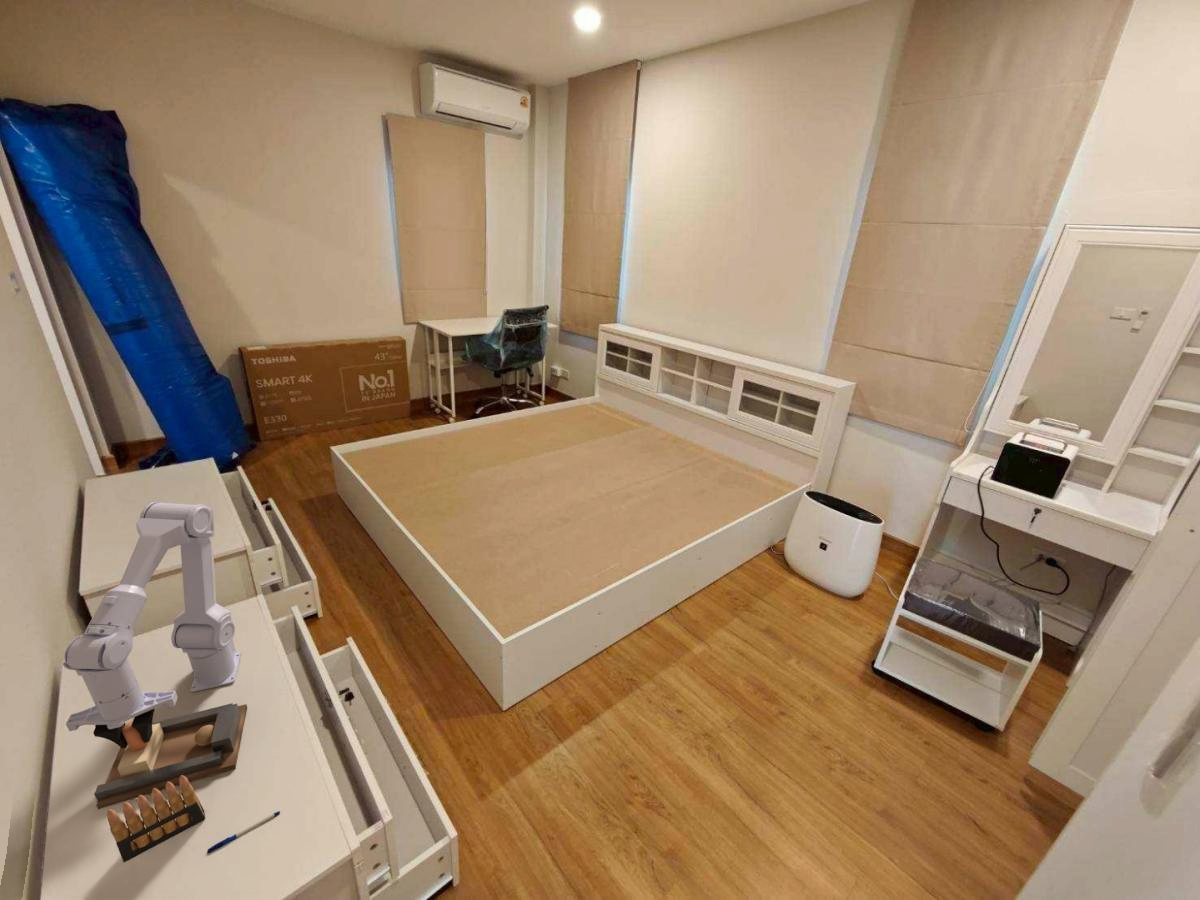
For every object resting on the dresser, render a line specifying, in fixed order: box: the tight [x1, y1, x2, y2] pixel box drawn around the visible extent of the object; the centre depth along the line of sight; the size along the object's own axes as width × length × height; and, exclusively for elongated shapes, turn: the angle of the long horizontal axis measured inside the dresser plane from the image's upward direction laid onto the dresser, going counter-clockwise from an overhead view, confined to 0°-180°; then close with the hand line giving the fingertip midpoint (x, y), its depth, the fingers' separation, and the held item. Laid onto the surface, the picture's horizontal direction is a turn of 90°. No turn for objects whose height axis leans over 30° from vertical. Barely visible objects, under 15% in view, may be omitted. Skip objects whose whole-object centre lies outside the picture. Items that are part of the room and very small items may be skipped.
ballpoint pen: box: [206, 810, 281, 854], centre depth 86 cm, size 10×1×1 cm, turn 131°
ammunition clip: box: [106, 775, 206, 863], centre depth 82 cm, size 11×2×12 cm, turn 130°
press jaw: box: [117, 720, 164, 778], centre depth 93 cm, size 8×4×9 cm, turn 25°
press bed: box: [93, 702, 248, 810], centre depth 96 cm, size 14×20×5 cm
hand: (137, 740), depth 92 cm, fingers closed on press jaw, 3 cm apart
